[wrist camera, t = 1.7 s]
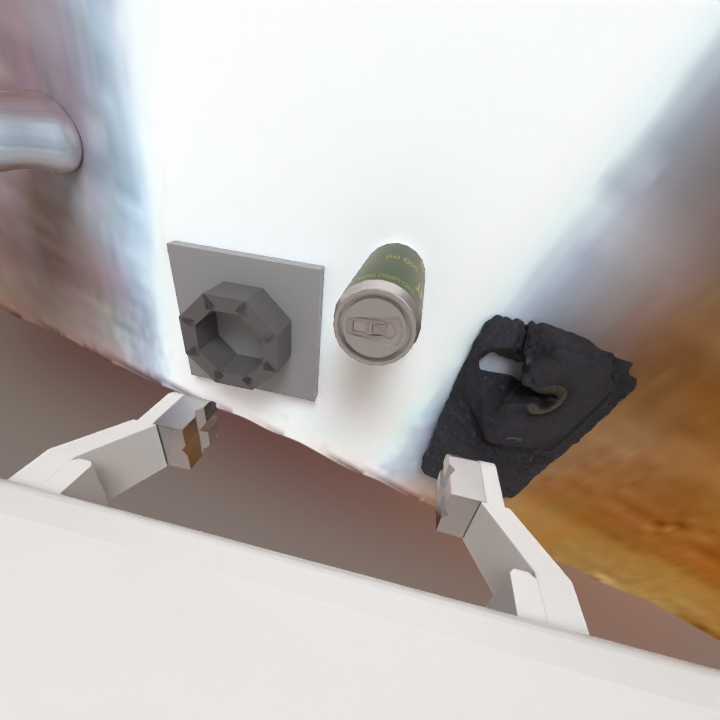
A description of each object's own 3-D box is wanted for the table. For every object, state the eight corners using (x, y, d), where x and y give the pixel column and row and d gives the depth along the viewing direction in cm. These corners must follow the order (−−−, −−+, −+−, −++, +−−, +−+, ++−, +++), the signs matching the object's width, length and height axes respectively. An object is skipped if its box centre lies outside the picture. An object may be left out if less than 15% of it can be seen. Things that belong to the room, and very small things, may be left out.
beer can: (363, 297, 31) (328, 361, 21) (367, 238, 28) (330, 278, 18) (420, 305, 31) (413, 375, 20) (430, 244, 28) (428, 291, 18)
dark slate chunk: (400, 453, 41) (396, 484, 37) (496, 297, 29) (505, 318, 25) (513, 498, 41) (521, 534, 37) (653, 362, 30) (688, 393, 26)
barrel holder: (324, 266, 30) (307, 281, 26) (317, 394, 38) (303, 421, 34) (174, 240, 32) (138, 251, 28) (197, 369, 40) (171, 391, 36)
